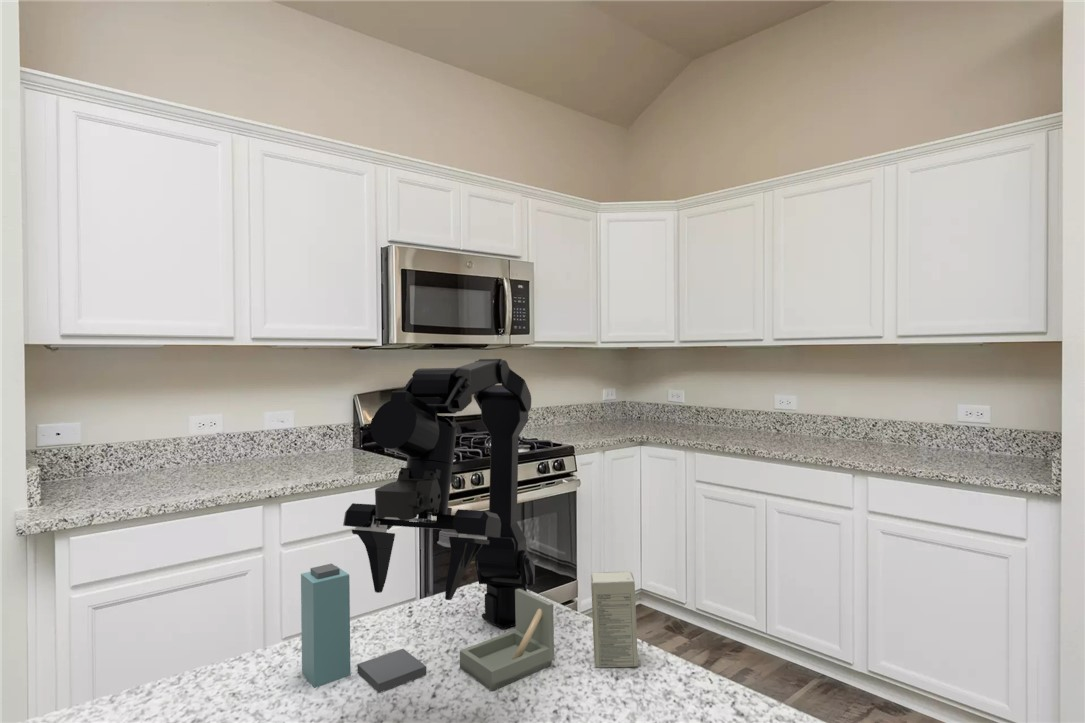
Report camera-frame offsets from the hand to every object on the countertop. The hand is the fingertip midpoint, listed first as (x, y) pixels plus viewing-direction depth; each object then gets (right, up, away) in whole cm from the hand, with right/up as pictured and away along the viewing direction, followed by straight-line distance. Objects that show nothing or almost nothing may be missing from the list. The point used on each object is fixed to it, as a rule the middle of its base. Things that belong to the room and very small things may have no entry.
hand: (412, 596), depth 70 cm
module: (-15, -16, +13) cm, 26 cm away
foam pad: (-6, -16, +13) cm, 21 cm away
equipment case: (+10, -16, +14) cm, 23 cm away
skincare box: (+26, -16, +16) cm, 34 cm away
